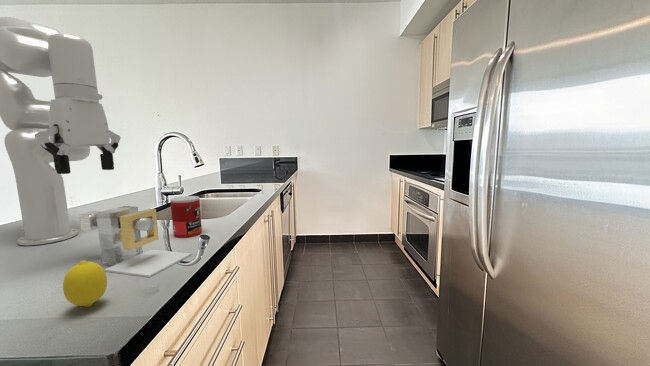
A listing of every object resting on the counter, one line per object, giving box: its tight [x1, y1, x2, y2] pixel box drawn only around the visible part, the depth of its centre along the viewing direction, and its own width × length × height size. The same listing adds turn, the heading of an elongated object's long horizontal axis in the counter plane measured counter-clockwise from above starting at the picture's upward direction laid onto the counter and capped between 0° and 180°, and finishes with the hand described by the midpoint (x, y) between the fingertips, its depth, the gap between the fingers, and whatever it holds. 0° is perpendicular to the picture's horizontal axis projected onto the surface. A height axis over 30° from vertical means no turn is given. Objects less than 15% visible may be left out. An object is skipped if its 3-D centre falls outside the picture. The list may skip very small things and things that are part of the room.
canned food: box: [170, 195, 203, 239], centre depth 85 cm, size 8×8×11 cm
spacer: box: [120, 208, 160, 251], centre depth 65 cm, size 2×7×7 cm, turn 165°
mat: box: [103, 249, 192, 278], centre depth 65 cm, size 12×12×1 cm
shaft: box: [78, 210, 154, 232], centre depth 66 cm, size 18×4×4 cm, turn 75°
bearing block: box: [96, 205, 144, 267], centre depth 66 cm, size 4×7×12 cm, turn 165°
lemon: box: [62, 260, 108, 308], centre depth 47 cm, size 6×6×8 cm
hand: (87, 171), depth 66 cm, fingers open, 9 cm apart
